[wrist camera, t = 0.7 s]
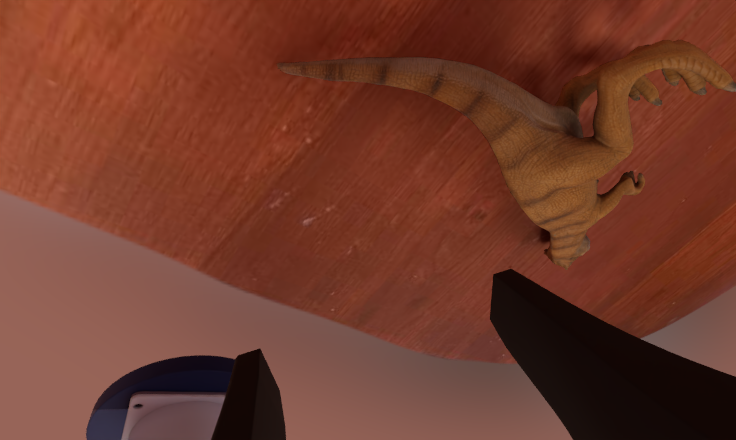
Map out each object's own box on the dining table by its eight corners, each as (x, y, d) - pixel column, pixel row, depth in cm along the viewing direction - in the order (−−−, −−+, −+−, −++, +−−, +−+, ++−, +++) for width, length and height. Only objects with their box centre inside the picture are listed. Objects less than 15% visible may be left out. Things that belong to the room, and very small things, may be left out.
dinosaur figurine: (655, 163, 25) (518, 278, 28) (485, -201, 13) (275, 63, 16) (767, 214, 20) (584, 351, 23) (653, -326, 8) (289, 110, 10)
